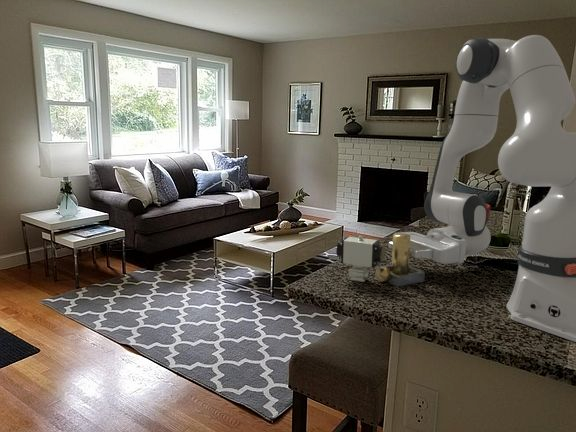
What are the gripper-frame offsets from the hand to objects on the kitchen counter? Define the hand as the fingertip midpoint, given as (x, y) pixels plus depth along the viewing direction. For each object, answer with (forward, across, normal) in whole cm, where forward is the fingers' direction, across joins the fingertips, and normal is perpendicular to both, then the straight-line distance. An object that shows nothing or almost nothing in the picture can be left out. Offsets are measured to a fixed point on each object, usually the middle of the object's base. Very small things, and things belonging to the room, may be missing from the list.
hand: (401, 249), depth 117 cm
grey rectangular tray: (0, 0, +8) cm, 8 cm away
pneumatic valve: (+10, -4, +8) cm, 14 cm away
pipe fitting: (0, 0, +8) cm, 8 cm away
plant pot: (-56, -28, +8) cm, 63 cm away
